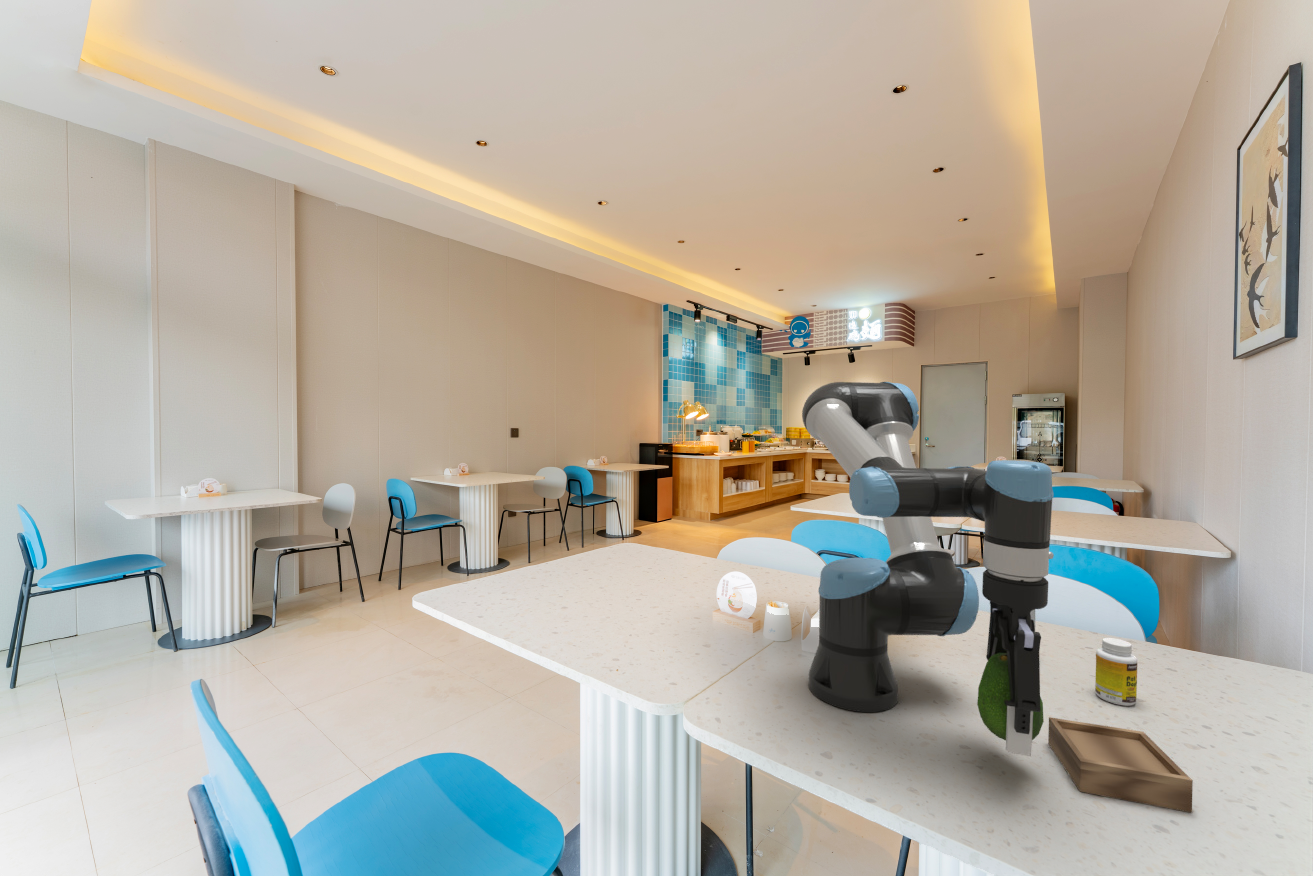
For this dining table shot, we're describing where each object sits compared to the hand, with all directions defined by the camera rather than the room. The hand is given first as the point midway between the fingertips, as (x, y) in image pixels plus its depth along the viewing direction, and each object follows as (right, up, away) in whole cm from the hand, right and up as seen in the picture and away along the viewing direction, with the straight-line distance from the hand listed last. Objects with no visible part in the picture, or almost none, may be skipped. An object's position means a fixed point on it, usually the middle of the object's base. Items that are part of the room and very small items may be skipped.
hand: (1008, 734), depth 75 cm
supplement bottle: (+32, -5, +20) cm, 38 cm away
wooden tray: (+14, -5, -1) cm, 14 cm away
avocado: (0, -1, 0) cm, 1 cm away
